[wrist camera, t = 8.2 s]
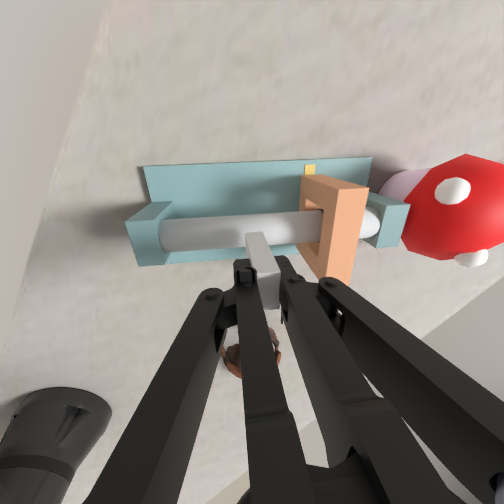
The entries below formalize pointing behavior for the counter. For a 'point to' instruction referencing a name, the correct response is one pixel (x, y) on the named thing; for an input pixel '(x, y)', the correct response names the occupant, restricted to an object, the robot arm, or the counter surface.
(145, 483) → the robot arm
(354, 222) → the peach rectangular collar
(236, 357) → the pottery mug
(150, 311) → the counter surface
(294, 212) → the pipe rig
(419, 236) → the mushroom
